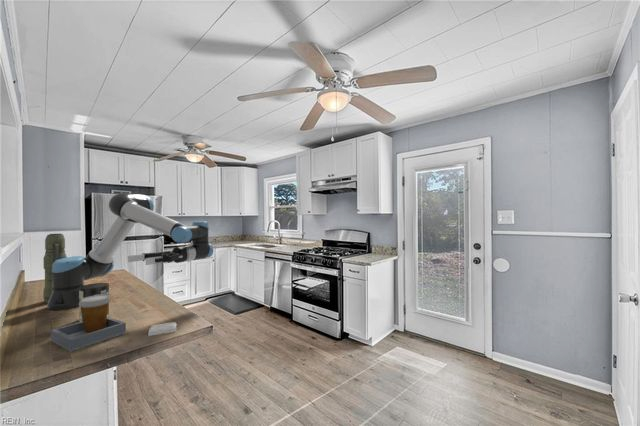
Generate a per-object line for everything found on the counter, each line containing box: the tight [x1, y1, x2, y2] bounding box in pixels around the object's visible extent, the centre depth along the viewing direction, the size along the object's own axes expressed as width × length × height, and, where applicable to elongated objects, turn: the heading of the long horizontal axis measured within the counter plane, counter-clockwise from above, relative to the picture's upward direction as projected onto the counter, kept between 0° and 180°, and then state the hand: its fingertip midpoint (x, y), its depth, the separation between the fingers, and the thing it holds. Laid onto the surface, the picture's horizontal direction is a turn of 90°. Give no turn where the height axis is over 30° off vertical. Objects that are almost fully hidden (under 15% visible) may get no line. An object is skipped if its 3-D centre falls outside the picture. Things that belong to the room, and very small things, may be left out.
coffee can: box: [78, 282, 110, 322], centre depth 122 cm, size 10×10×14 cm
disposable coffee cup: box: [79, 295, 112, 333], centre depth 107 cm, size 10×10×12 cm
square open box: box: [50, 316, 127, 352], centre depth 103 cm, size 16×16×4 cm
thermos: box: [42, 233, 68, 304], centre depth 147 cm, size 9×12×35 cm
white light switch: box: [147, 321, 178, 337], centre depth 107 cm, size 5×9×3 cm, turn 114°
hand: (136, 260), depth 117 cm, fingers open, 13 cm apart
